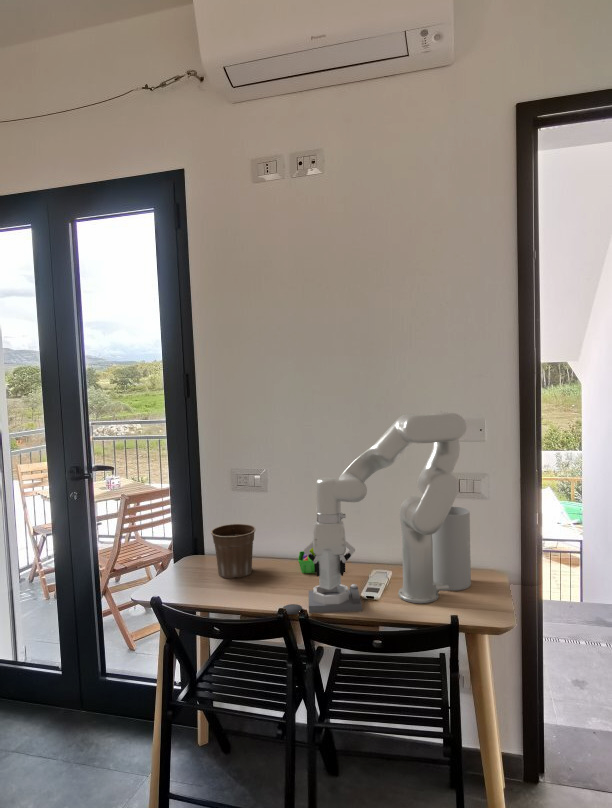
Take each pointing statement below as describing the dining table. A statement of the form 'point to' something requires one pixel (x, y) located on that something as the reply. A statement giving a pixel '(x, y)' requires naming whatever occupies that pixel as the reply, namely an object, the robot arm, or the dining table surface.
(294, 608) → the lens cap
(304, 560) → the fruit basket
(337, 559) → the skincare box
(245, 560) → the plant pot
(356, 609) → the octagonal ring base
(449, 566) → the cylinder vase
